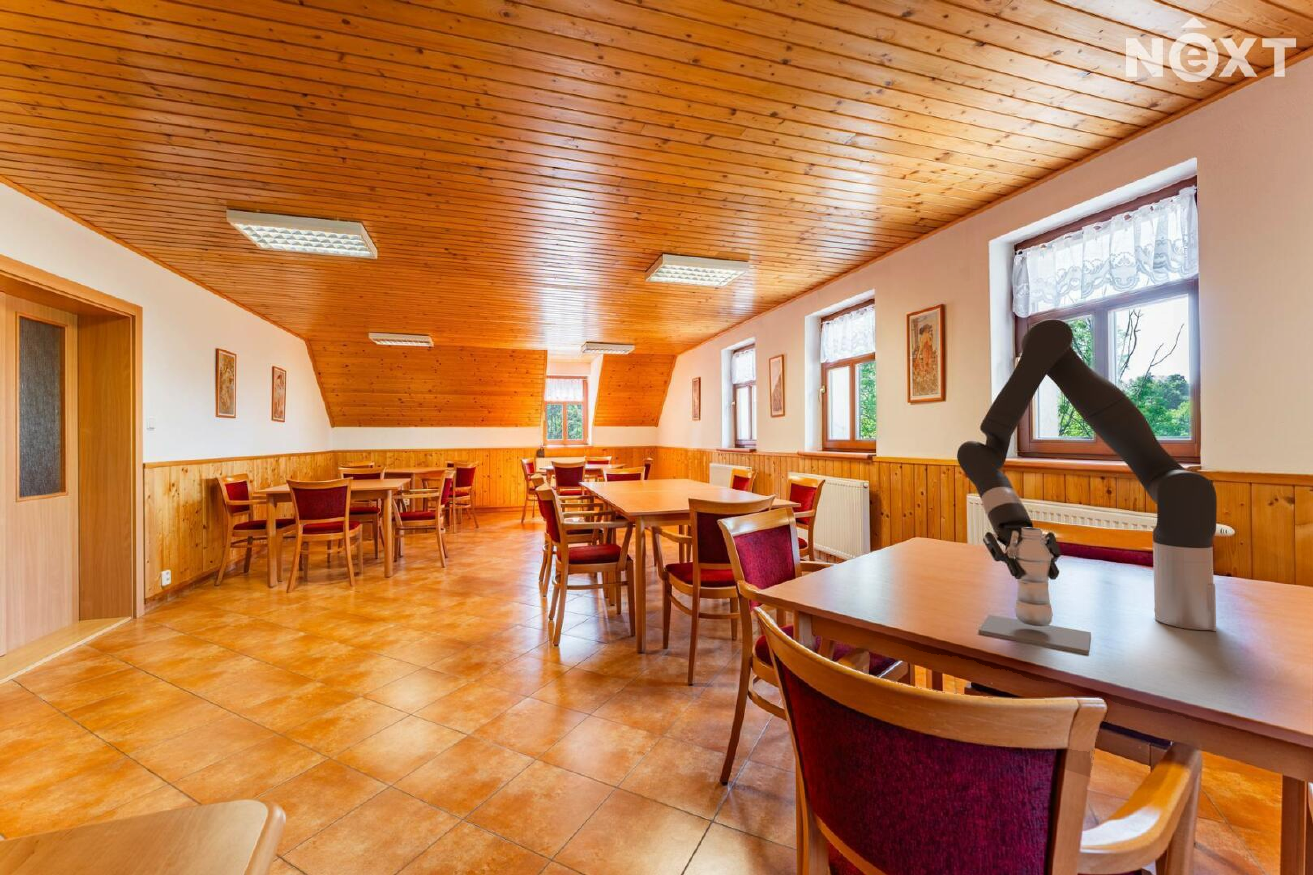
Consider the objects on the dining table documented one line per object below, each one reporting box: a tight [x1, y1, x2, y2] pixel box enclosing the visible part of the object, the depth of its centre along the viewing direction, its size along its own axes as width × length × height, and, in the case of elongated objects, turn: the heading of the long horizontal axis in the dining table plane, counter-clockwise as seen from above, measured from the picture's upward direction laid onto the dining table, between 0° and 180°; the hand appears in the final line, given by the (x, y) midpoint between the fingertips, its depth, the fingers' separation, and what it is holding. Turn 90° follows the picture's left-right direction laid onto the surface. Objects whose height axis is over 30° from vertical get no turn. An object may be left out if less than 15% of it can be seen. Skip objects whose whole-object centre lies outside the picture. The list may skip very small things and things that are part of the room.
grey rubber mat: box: [978, 614, 1092, 656], centre depth 111 cm, size 18×12×1 cm, turn 49°
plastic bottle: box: [1014, 527, 1054, 626], centre depth 111 cm, size 6×7×20 cm
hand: (1037, 577), depth 109 cm, fingers closed on plastic bottle, 6 cm apart
